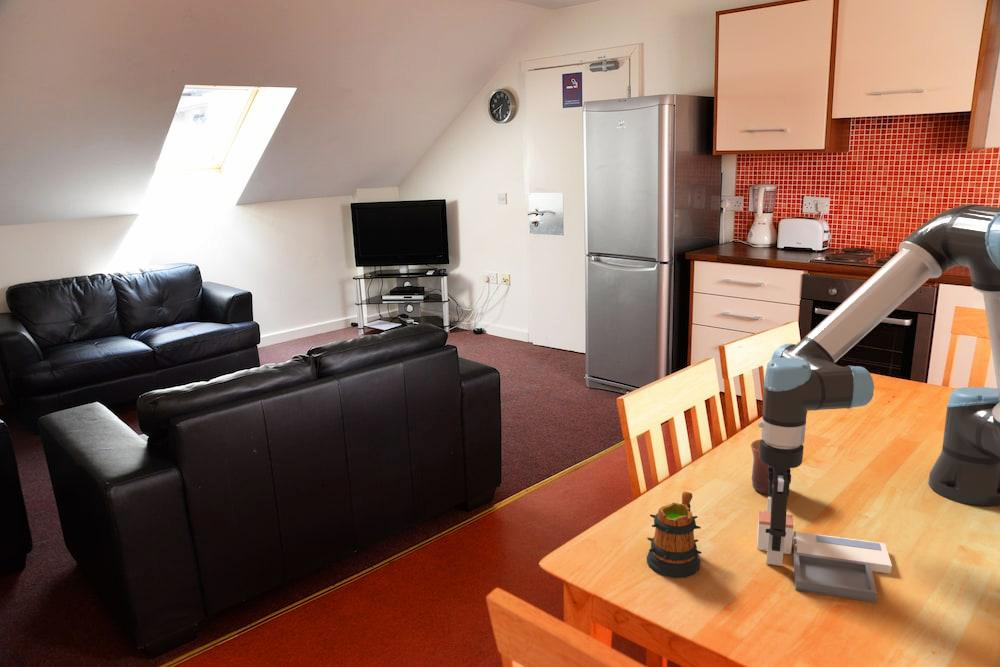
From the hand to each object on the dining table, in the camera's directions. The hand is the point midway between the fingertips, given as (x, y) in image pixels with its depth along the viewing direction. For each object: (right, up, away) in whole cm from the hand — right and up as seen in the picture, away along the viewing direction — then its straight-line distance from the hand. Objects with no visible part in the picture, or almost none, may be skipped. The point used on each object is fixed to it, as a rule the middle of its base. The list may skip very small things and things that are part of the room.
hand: (773, 545), depth 143 cm
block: (0, 0, 0) cm, 0 cm away
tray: (+6, -3, -11) cm, 13 cm away
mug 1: (-20, -2, -4) cm, 20 cm away
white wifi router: (+11, -1, -4) cm, 12 cm away
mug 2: (+7, +5, +21) cm, 23 cm away
